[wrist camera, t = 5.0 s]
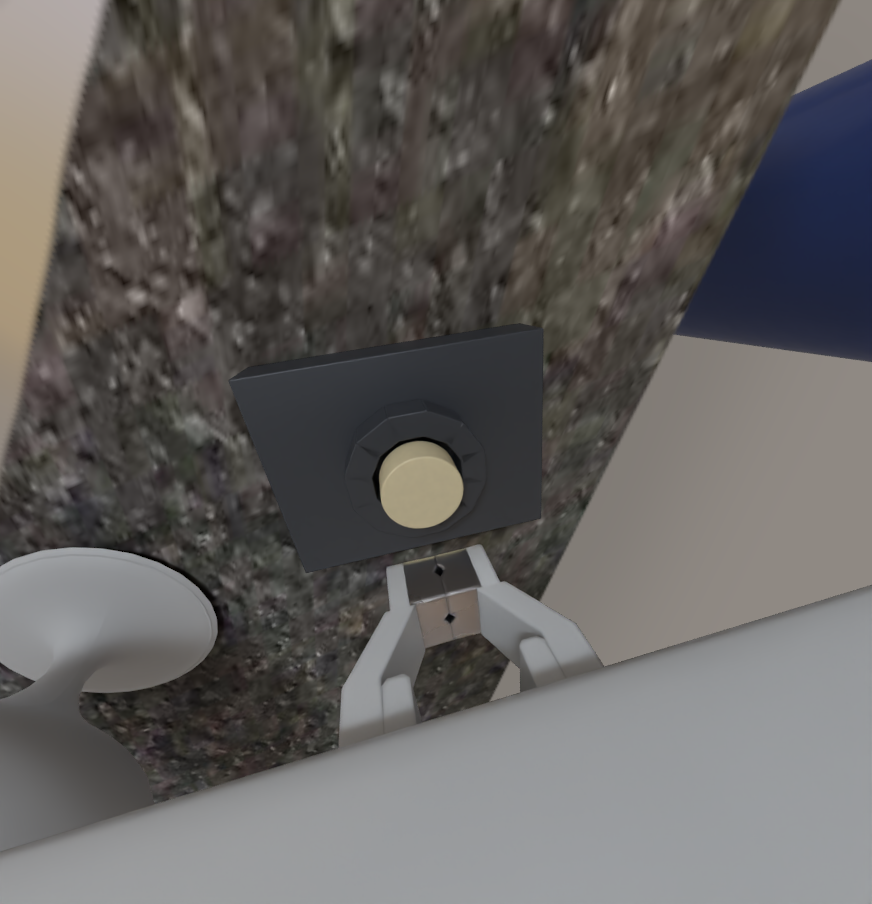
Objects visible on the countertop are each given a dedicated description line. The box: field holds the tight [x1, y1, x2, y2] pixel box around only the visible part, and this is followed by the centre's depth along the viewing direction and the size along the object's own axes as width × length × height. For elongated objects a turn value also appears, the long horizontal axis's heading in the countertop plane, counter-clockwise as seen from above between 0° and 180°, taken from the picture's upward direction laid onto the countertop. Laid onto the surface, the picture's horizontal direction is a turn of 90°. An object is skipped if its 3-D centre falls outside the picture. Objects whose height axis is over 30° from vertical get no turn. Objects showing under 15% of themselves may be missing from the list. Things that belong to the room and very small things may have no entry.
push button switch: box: [379, 441, 464, 528], centre depth 15 cm, size 4×4×2 cm
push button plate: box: [229, 323, 543, 573], centre depth 18 cm, size 14×11×4 cm
